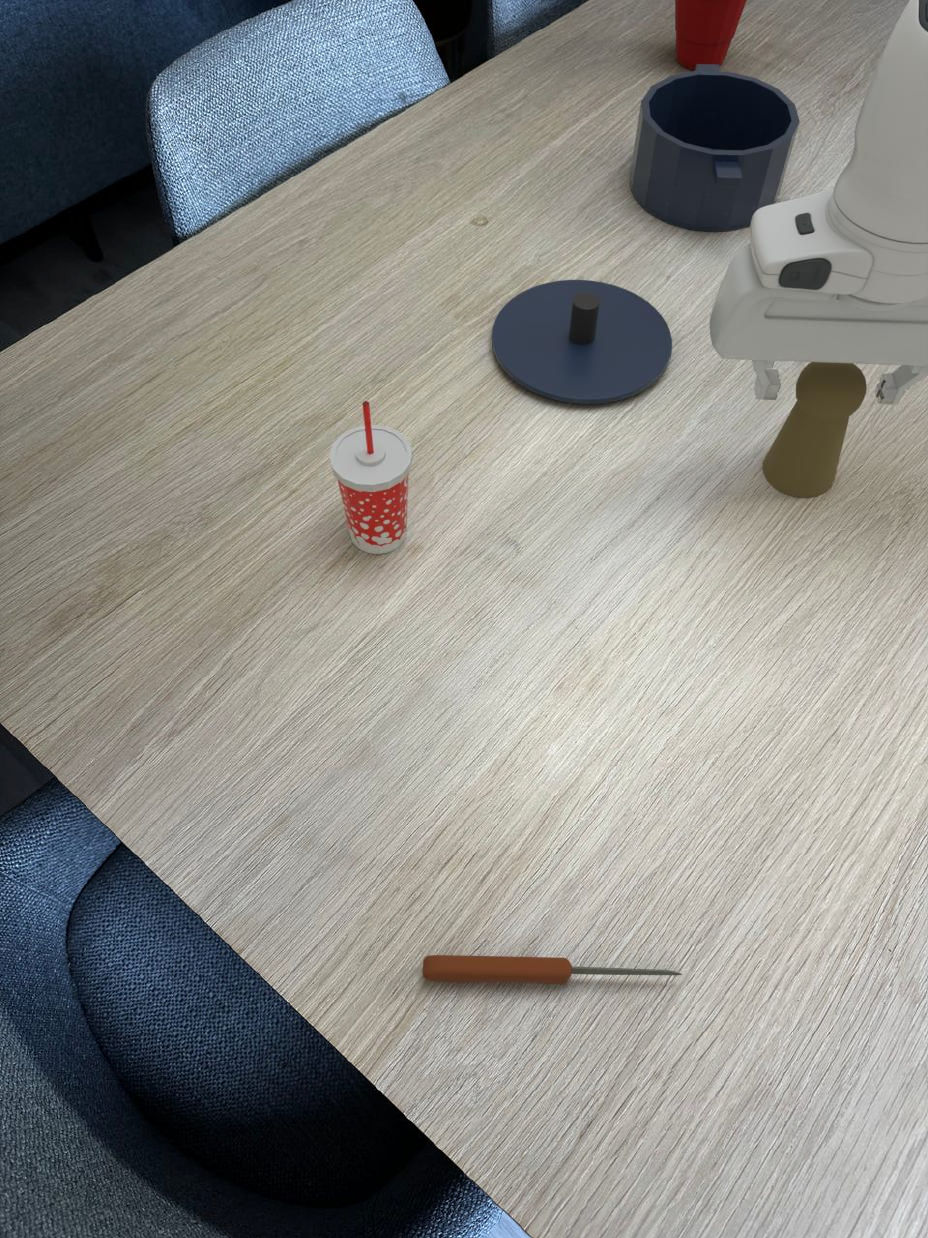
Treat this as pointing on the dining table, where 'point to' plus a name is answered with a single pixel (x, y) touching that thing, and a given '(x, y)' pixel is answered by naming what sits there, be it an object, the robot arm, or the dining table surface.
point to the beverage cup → (373, 483)
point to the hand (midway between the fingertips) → (824, 396)
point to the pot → (711, 148)
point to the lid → (581, 341)
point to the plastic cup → (705, 30)
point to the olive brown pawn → (815, 429)
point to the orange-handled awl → (515, 969)
